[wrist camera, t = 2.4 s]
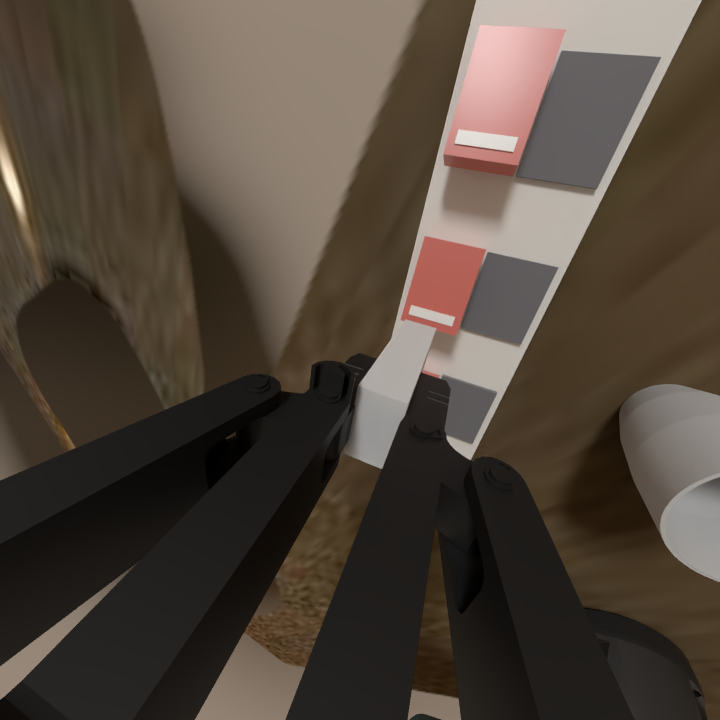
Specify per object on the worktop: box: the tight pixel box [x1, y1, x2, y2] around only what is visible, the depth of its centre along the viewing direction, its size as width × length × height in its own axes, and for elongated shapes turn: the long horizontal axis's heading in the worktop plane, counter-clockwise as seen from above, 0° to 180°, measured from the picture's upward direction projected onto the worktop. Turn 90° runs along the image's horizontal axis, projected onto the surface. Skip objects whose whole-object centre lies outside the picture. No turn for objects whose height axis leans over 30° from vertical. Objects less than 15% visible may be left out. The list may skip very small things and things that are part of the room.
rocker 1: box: [401, 236, 486, 336], centre depth 18 cm, size 5×4×2 cm
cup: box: [619, 384, 720, 582], centre depth 18 cm, size 8×8×10 cm
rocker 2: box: [443, 25, 566, 176], centre depth 14 cm, size 5×4×2 cm
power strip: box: [391, 0, 702, 460], centre depth 22 cm, size 34×9×4 cm, turn 169°
